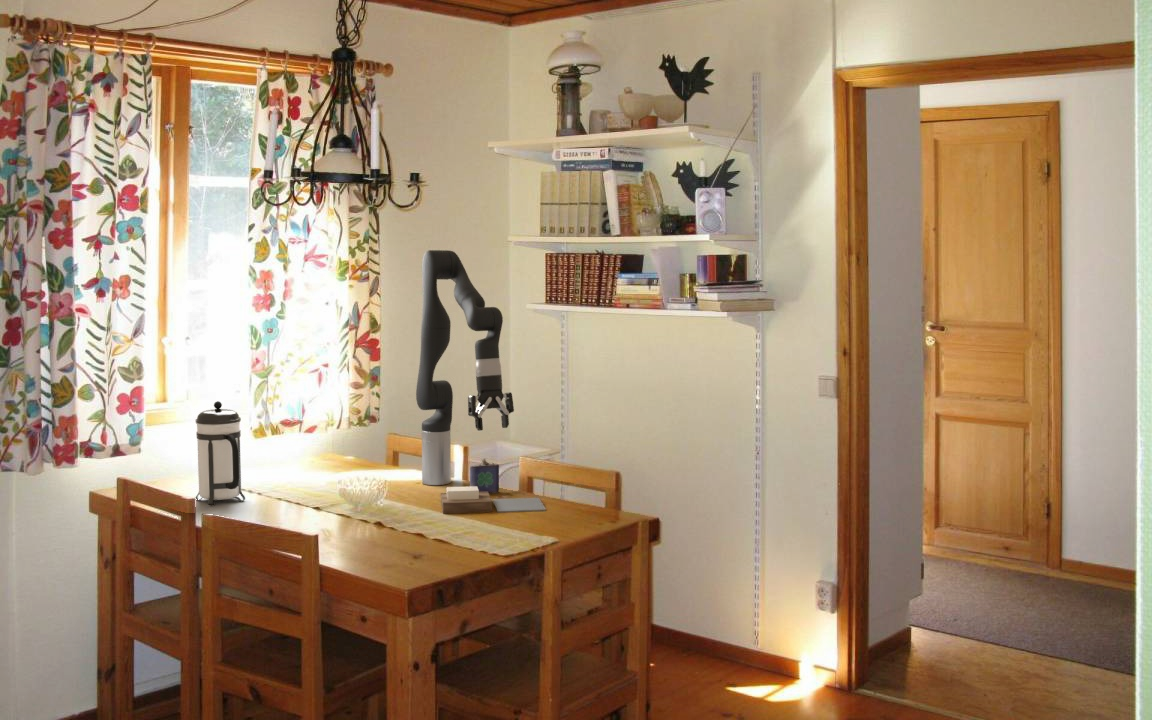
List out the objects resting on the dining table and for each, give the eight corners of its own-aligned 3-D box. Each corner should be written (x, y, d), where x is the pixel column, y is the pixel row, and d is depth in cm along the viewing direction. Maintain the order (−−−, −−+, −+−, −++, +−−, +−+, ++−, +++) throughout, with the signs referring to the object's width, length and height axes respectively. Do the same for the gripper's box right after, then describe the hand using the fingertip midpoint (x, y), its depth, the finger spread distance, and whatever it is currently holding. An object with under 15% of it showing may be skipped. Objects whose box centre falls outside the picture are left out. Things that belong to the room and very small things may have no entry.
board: (440, 502, 327) (440, 492, 327) (487, 501, 330) (487, 491, 329) (443, 513, 314) (443, 503, 313) (492, 511, 316) (492, 501, 316)
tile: (446, 495, 323) (446, 487, 323) (477, 494, 325) (477, 486, 325) (447, 499, 318) (447, 491, 317) (478, 498, 319) (478, 490, 319)
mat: (492, 500, 331) (492, 499, 331) (538, 498, 333) (538, 497, 333) (497, 512, 315) (497, 511, 315) (546, 510, 318) (546, 509, 317)
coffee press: (182, 506, 322) (179, 404, 319) (209, 494, 338) (206, 397, 335) (238, 508, 319) (235, 405, 317) (262, 496, 335) (260, 399, 332)
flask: (470, 495, 339) (470, 460, 338) (468, 493, 341) (468, 458, 340) (499, 493, 342) (500, 459, 341) (497, 491, 344) (497, 457, 343)
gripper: (502, 373, 332) (506, 427, 332) (461, 376, 324) (465, 431, 324) (515, 372, 326) (519, 427, 326) (473, 375, 318) (477, 431, 318)
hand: (492, 429), depth 325 cm, fingers open, 8 cm apart
